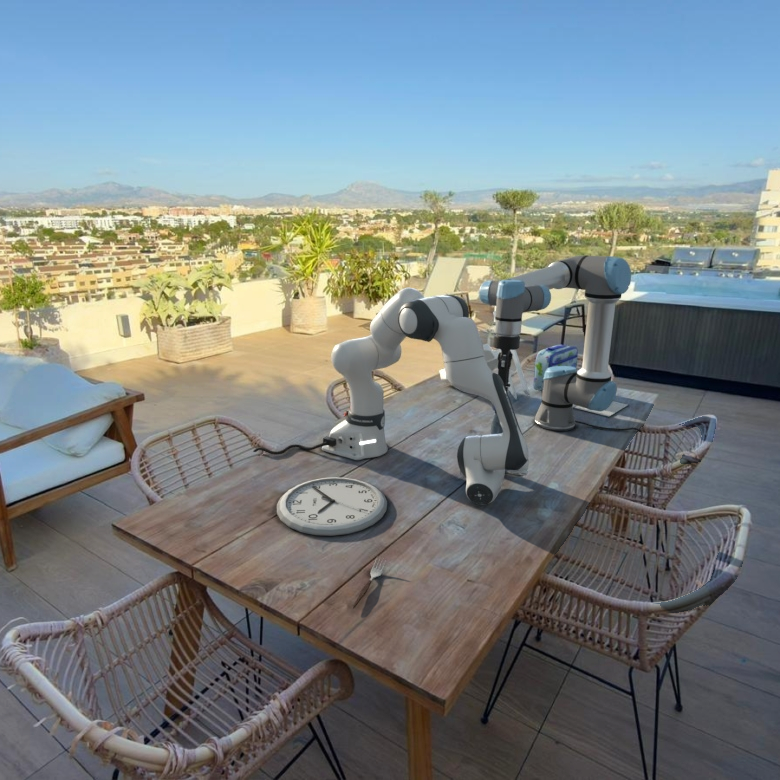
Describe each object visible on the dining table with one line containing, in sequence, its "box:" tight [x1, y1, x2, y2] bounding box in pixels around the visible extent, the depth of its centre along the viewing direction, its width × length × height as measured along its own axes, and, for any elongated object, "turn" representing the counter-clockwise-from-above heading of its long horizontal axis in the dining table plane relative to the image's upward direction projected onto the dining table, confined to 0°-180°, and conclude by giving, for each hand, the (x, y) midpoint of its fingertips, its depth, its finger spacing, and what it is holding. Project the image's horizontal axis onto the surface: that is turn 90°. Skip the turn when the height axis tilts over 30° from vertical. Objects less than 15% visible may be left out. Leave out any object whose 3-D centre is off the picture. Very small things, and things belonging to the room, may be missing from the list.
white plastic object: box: [438, 310, 531, 400], centre depth 245 cm, size 37×45×31 cm
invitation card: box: [573, 400, 629, 418], centre depth 226 cm, size 21×1×15 cm
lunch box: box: [533, 344, 579, 392], centre depth 247 cm, size 26×11×21 cm, turn 134°
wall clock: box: [276, 476, 388, 537], centre depth 142 cm, size 30×2×30 cm
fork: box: [352, 555, 387, 609], centre depth 110 cm, size 3×16×2 cm, turn 160°
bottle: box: [490, 412, 503, 434], centre depth 161 cm, size 5×5×22 cm
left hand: (497, 451), depth 164 cm, fingers closed on bottle, 5 cm apart
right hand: (500, 410), depth 159 cm, fingers closed on cap, 5 cm apart
